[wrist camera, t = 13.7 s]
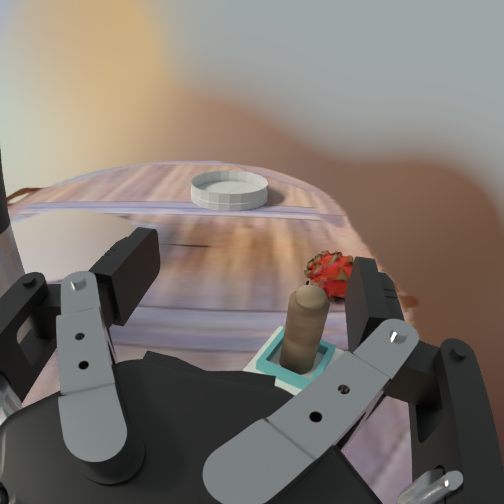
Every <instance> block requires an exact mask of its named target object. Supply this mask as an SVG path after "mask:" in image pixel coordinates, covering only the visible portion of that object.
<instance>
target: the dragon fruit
mask: <svg viewBox="0 0 504 504" xmlns="http://www.w3.org/2000/svg"><path fill="white" fill-rule="evenodd" d="M322 254H323V255H322ZM322 254H318V255H317V256H315V258H312V260H311V261H309V262H308V265H307V269H308V270H306V271H305V270H304V272H305V275H306V277H307V278H310V279H311V280H312V284H311V285H314V286H318V287H320V288H321V289H323V290H324V291H325V293H326V296H327V297H328V299H330V300H331V302H333V301H334V300H335V299H336V298H335V297H334V296H336V297H341V298H344V299H345V294H346V289H347V285H348V282H349V278H350V274H351V270H352V267H353V263H354V262H353V257H352V256H346V257H343V256H342V253H341V252H337V251H336V252H335V253H332V254H330V253H329V252H328V251H327V250H326V251H322ZM308 283H309V281H307V282H306V285H308Z"/></svg>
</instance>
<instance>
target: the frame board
mask: <svg viewBox="0 0 504 504" xmlns="http://www.w3.org/2000/svg"><path fill="white" fill-rule="evenodd" d="M284 331H285V326H284V327H282V326H279V327H278V328H277V330H276V331H275V332H274V333H273V335H272V336H271V337H270V338H269V339H268V341H267V342H266V343H265V344H264V346H263V347H262V348H261V349H260V350H259V352H258V353H257V354H256V355H255V356H254V358H253V359H252V360H251V361H250V362H249V364H248V365H247V366H246V367H245V368H244V369H243V371H247V372H253V373H260V374H266V375H273V376H276V380H275V386H277V387H280V388H282V389H284V390H286V391H288V392H290V393H291V394H293V395H297V394H298V393H299V392H300V391H301V390H303V389H304V388H305V387H306V386H307V385H308V384H309V383H311V382H312V381H313V380H314V379H315V378H316V377H317V376H319V375H320V374H321V373H322V372H323V371H324V370H325V369H326V368H328V367H329V366H330V365H331V364H332V363H333V362H334V361H335V360H336V359H337V358H338V357H339V356H341V355H342V354H343V353H344V352H345V351H343V350H340V349H337V348H336V346H335V345H332V344H329V343H327V342H324V341H322V340H320V344H319V347H318V351H317V354H316V358H315V361H314V365H313V368H312V369H311V370H310V371H309V372H308V373H306V374H302V375H299V374H297V373H294V372H292V371H290V370H287V369H285V368H283V367H281V365H280V362H279V360H280V354H281V348H282V342H283V337H284Z"/></svg>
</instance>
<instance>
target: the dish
mask: <svg viewBox="0 0 504 504" xmlns="http://www.w3.org/2000/svg"><path fill="white" fill-rule="evenodd" d="M191 184H192V189H191V200H192V201H193V202H194V203H195V204H197V205H199V206H201V207H204V208H207V209H212V210H218V211H243V210H250V209H254V208H257V207H260V206H262V205H264V204H265V203H266V202H267V196H268V191H267V186H268V182H267V180H266V179H265V178H263V177H261V176H259V175H256V174H252V173H248V172H241V171H214V172H208V173H204V174H201V175H198V176H196V177H194V178H193V179H192V181H191Z"/></svg>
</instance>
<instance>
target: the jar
mask: <svg viewBox="0 0 504 504" xmlns="http://www.w3.org/2000/svg"><path fill="white" fill-rule="evenodd" d="M329 306H330V302H329V299H328V298H327V297H326V293H325V291H324V290H323V289H321V288H320V287H318V286H314V285H303V286H300V287H299V288H298V289H297V291H295V292H293V293H292V294H291V296H290V300H289V306H288V313H287V319H286V325H285V331H284V337H283V342H282V348H281V354H280V360H279V362H280V365H281V367H283V368H285V369H287V370H290V371H292V372H294V373H297V374H299V375H302V374H306V373H308V372H309V371H310V370H311V369H312V368H313V365H314V361H315V358H316V354H317V351H318V347H319V344H320V340H321V336H322V333H323V329H324V325H325V321H326V318H327V314H328V310H329Z"/></svg>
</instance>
